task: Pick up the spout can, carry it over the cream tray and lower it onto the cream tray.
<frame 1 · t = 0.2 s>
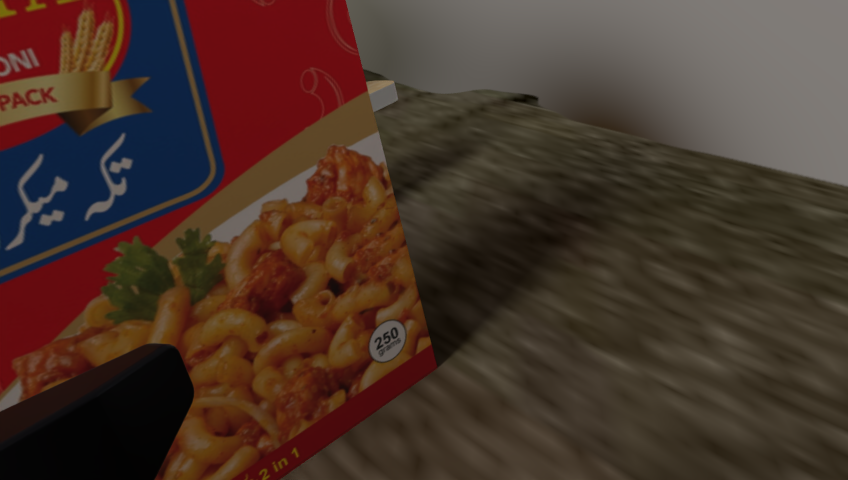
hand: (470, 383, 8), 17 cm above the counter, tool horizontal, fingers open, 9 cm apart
architectural model: (313, 236, 55), on the counter
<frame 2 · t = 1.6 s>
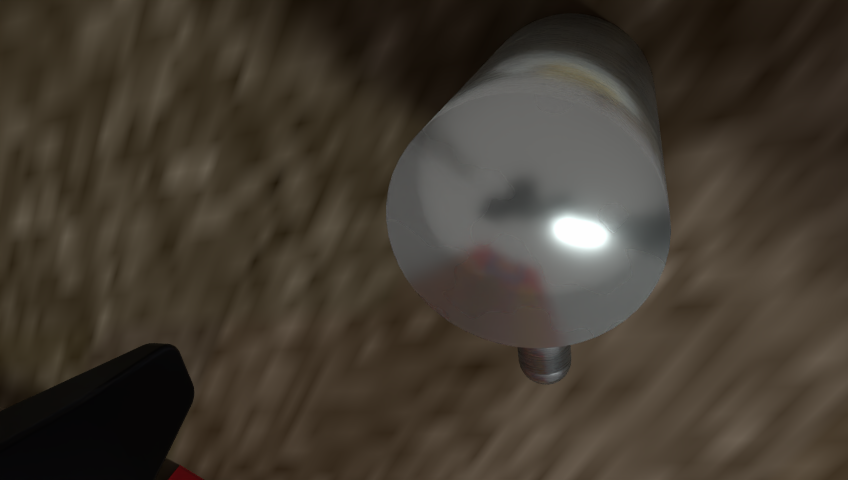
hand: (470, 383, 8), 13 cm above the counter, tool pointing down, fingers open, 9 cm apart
spout can: (564, 102, 19), on the counter
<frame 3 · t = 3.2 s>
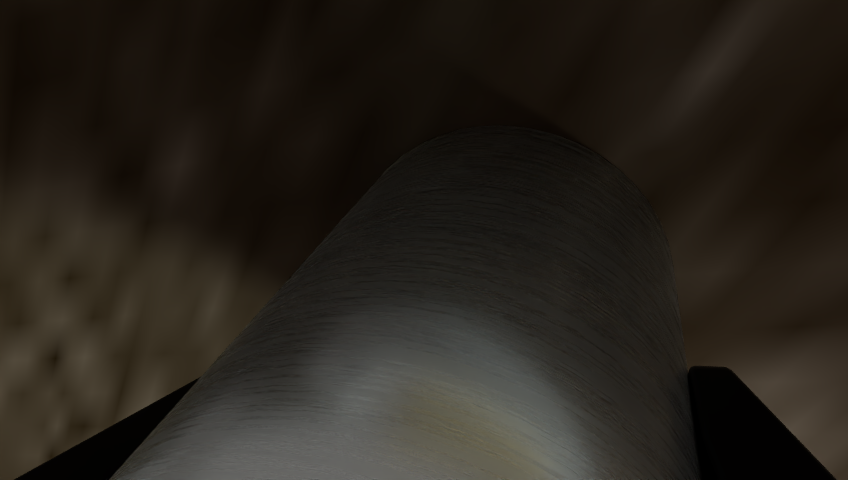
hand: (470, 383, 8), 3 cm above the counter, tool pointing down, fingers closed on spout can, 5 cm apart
spout can: (502, 279, 10), on the counter, touching gripper
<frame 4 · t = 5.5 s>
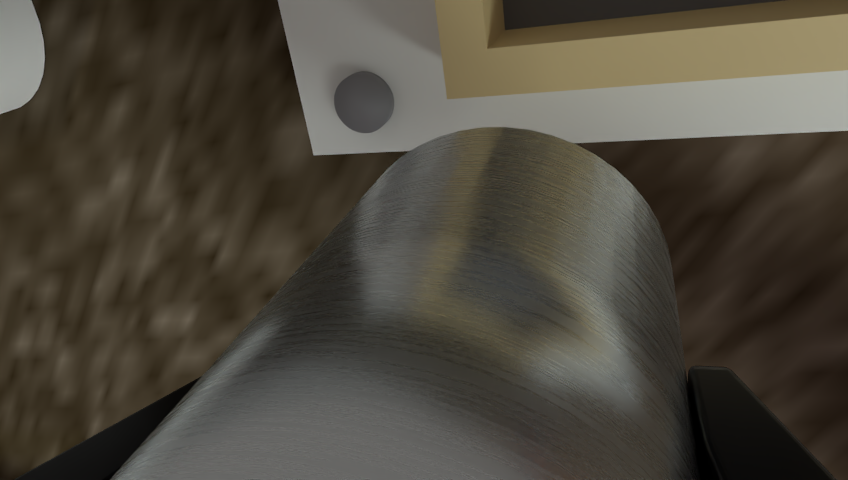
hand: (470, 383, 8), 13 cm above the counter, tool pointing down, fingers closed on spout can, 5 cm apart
spout can: (501, 280, 10), point 10 cm above the counter, touching gripper
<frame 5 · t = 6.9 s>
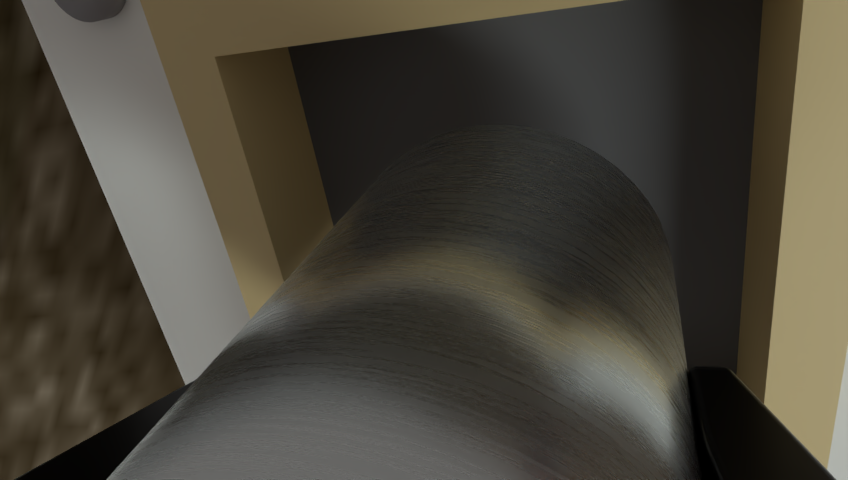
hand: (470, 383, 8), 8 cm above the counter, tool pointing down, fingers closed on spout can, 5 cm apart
cream tray: (537, 158, 15), on the counter
spout can: (502, 279, 10), point 5 cm above the counter, touching gripper
when the fingers open (7 cm above the counter, at t = 7.8 s): spout can drops 1 cm, resting on cream tray.
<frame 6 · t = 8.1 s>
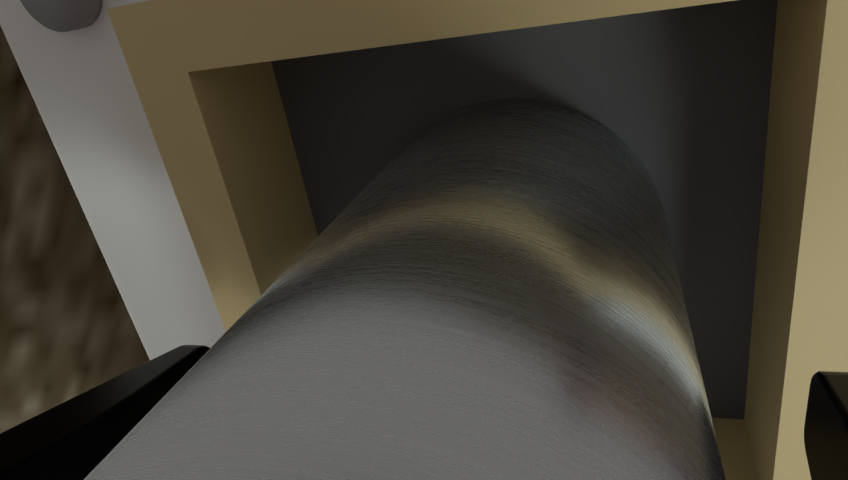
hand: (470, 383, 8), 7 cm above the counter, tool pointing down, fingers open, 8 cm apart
cream tray: (535, 173, 14), on the counter
spout can: (513, 241, 11), point 3 cm above the counter, touching cream tray
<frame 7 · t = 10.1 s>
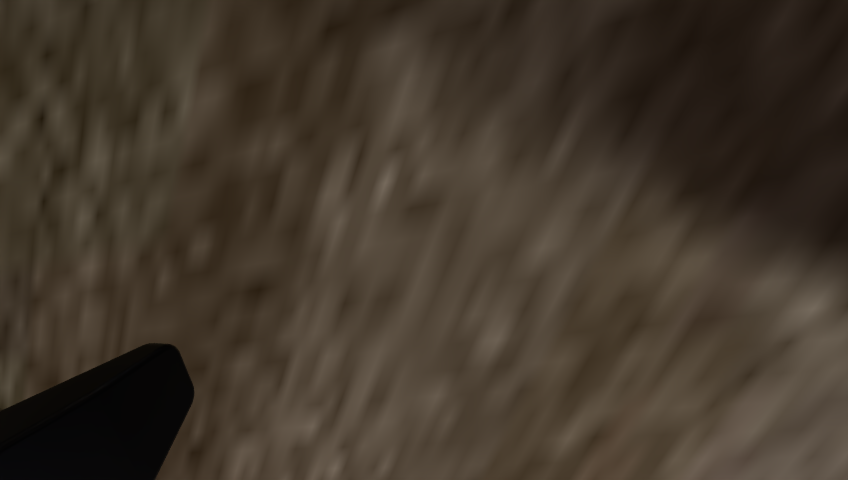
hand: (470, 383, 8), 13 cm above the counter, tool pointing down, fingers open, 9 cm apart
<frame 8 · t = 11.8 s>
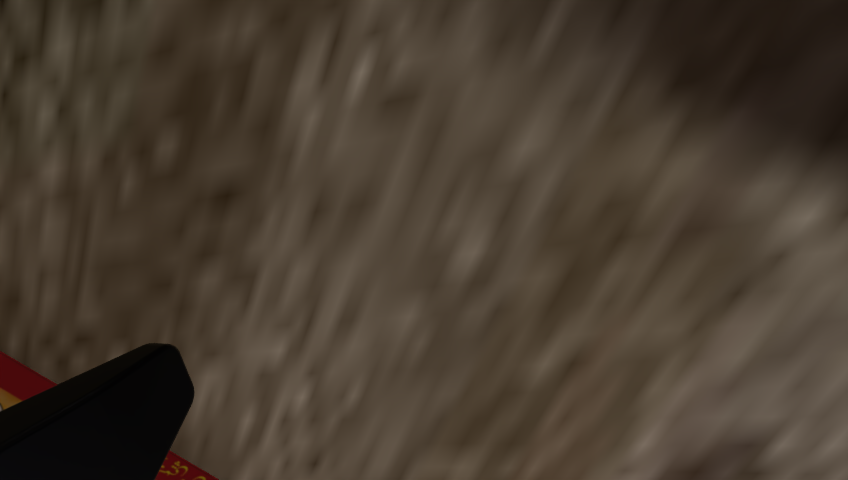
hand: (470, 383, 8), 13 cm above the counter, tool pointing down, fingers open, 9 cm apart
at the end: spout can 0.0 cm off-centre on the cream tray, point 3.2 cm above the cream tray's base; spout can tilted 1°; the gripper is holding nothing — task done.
